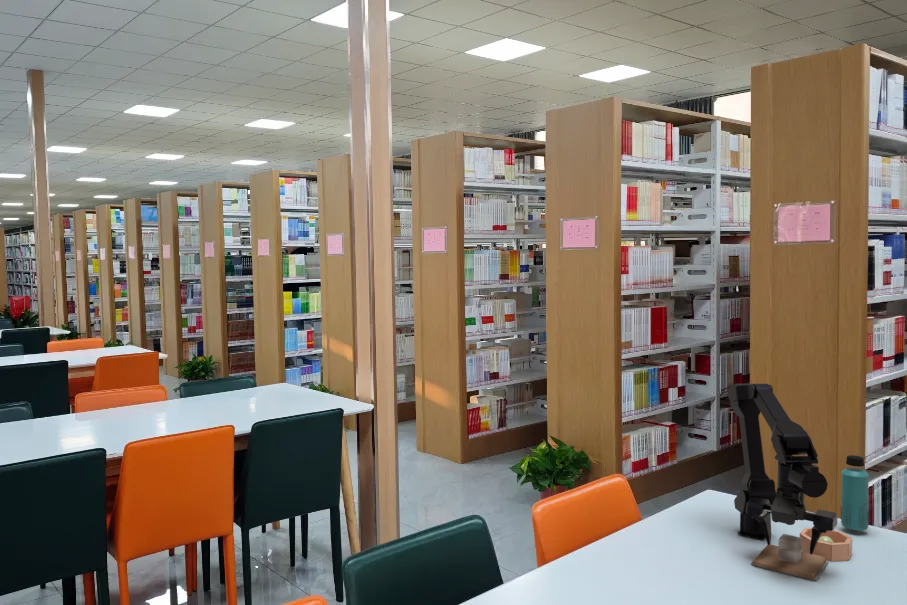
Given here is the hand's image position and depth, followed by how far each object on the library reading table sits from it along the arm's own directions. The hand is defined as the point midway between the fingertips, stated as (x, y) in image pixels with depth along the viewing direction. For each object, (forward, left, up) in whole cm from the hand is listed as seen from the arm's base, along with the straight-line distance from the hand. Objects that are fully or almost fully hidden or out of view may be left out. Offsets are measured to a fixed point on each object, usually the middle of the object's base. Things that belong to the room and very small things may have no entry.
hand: (789, 549), depth 166 cm
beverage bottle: (+8, +32, -4) cm, 33 cm away
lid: (0, 0, -3) cm, 3 cm away
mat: (0, 0, -4) cm, 4 cm away
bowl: (+5, +13, -4) cm, 14 cm away
